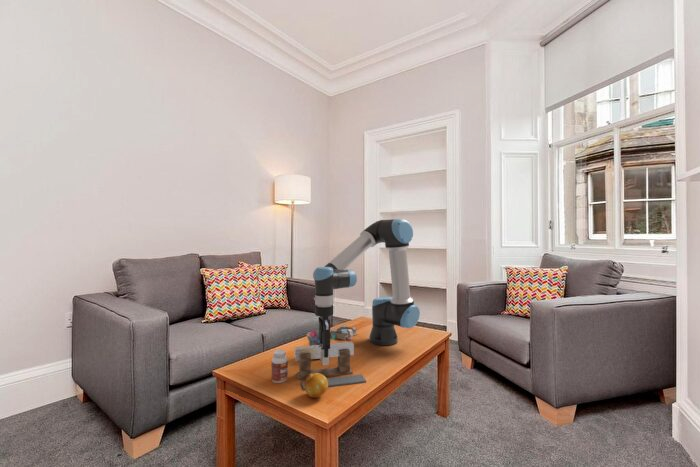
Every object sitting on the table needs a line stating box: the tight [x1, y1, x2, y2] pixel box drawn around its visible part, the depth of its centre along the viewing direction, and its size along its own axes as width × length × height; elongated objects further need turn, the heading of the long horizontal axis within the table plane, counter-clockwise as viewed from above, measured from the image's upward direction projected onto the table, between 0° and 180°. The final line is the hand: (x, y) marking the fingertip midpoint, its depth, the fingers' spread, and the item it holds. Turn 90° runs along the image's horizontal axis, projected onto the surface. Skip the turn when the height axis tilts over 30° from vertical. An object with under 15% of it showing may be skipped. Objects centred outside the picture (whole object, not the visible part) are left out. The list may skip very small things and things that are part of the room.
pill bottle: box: [271, 349, 289, 384], centre depth 129 cm, size 6×6×11 cm
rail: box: [293, 341, 355, 362], centre depth 135 cm, size 24×3×4 cm, turn 105°
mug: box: [306, 330, 320, 360], centre depth 155 cm, size 12×9×11 cm
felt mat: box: [301, 374, 367, 391], centre depth 127 cm, size 24×6×1 cm, turn 105°
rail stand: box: [296, 350, 354, 381], centre depth 135 cm, size 22×6×9 cm, turn 105°
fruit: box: [304, 373, 329, 399], centre depth 116 cm, size 8×8×8 cm
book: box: [330, 325, 358, 342], centre depth 183 cm, size 20×12×5 cm, turn 147°
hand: (324, 362), depth 135 cm, fingers open, 4 cm apart
